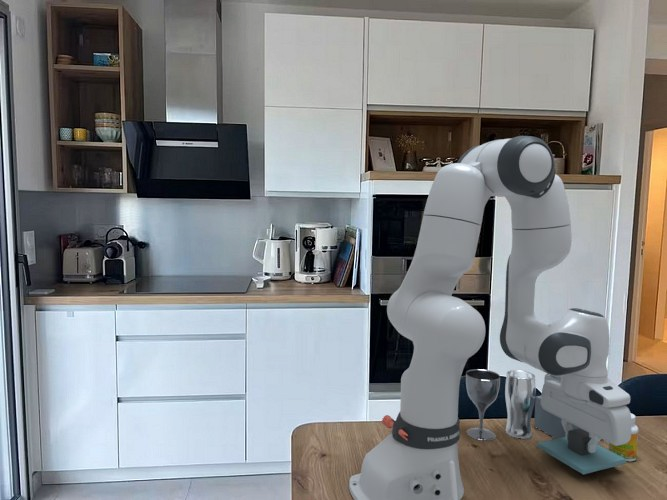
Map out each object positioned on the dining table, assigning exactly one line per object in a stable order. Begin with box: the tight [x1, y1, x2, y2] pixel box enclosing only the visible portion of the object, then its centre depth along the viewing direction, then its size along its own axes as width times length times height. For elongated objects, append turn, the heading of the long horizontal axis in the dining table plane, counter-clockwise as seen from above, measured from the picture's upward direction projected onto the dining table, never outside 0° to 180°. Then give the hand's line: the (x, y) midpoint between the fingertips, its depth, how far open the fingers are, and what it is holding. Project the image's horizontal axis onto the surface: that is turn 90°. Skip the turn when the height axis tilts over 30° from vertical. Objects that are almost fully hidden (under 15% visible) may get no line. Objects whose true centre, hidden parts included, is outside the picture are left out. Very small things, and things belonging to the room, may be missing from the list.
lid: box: [537, 428, 627, 475], centre depth 103 cm, size 12×12×5 cm
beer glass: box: [504, 369, 537, 440], centre depth 116 cm, size 7×7×15 cm
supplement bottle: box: [608, 412, 639, 462], centre depth 106 cm, size 5×5×10 cm
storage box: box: [533, 395, 604, 441], centre depth 117 cm, size 11×11×8 cm
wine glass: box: [465, 368, 501, 442], centre depth 116 cm, size 8×8×15 cm
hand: (580, 445), depth 103 cm, fingers closed on lid, 3 cm apart
